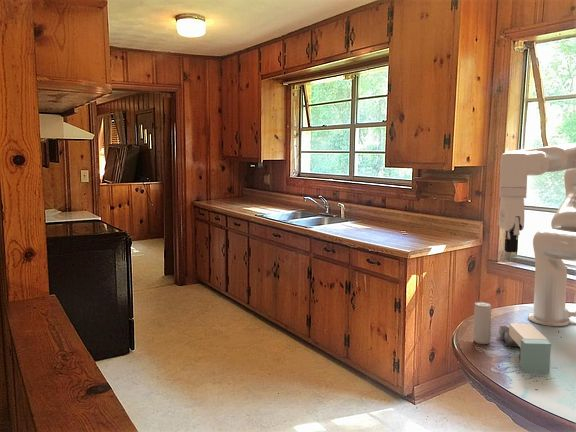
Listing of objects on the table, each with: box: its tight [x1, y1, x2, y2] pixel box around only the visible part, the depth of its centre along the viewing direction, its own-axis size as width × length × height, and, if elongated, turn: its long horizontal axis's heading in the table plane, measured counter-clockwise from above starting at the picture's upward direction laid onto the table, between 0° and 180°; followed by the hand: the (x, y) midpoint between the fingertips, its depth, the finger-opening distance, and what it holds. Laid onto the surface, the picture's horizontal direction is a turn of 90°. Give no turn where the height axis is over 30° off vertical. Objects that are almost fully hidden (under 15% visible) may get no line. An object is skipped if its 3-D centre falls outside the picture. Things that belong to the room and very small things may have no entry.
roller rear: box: [498, 325, 509, 340], centre depth 150 cm, size 6×4×4 cm, turn 83°
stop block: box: [519, 339, 552, 374], centre depth 128 cm, size 6×3×8 cm, turn 83°
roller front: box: [504, 332, 519, 347], centre depth 145 cm, size 6×4×4 cm, turn 83°
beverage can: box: [473, 301, 492, 345], centre depth 148 cm, size 5×5×12 cm
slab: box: [508, 323, 548, 349], centre depth 137 cm, size 6×12×4 cm, turn 173°
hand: (510, 251), depth 150 cm, fingers closed
